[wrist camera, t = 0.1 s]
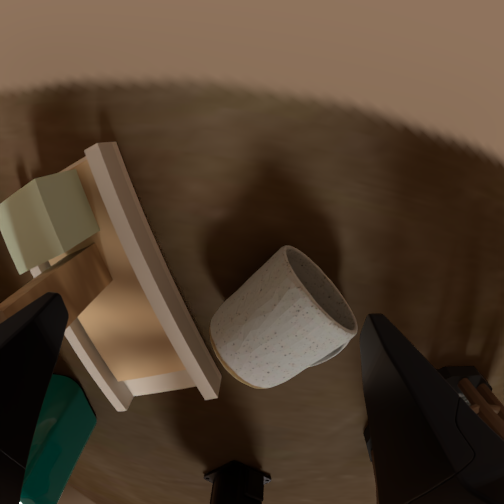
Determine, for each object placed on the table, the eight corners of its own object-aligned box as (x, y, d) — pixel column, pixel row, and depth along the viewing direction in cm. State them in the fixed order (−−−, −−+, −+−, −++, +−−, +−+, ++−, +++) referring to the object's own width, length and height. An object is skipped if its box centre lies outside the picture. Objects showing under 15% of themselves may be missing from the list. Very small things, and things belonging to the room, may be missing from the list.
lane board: (221, 375, 28) (217, 398, 26) (127, 392, 30) (117, 411, 27) (116, 141, 22) (97, 142, 19) (23, 197, 23) (2, 204, 21)
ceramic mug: (208, 301, 26) (190, 361, 19) (281, 229, 24) (289, 272, 16) (299, 370, 28) (307, 435, 21) (369, 314, 26) (399, 372, 19)
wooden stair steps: (189, 362, 27) (152, 482, 15) (121, 375, 28) (69, 475, 16) (94, 157, 21) (-34, 186, 9) (30, 197, 22) (-83, 243, 10)
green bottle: (102, 425, 33) (39, 567, 12) (52, 414, 33) (-17, 533, 12) (74, 366, 29) (-27, 523, 9) (22, 357, 30) (-76, 481, 9)
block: (100, 230, 22) (64, 252, 17) (56, 251, 23) (19, 274, 18) (75, 168, 21) (34, 178, 16) (33, 195, 21) (-8, 209, 17)
